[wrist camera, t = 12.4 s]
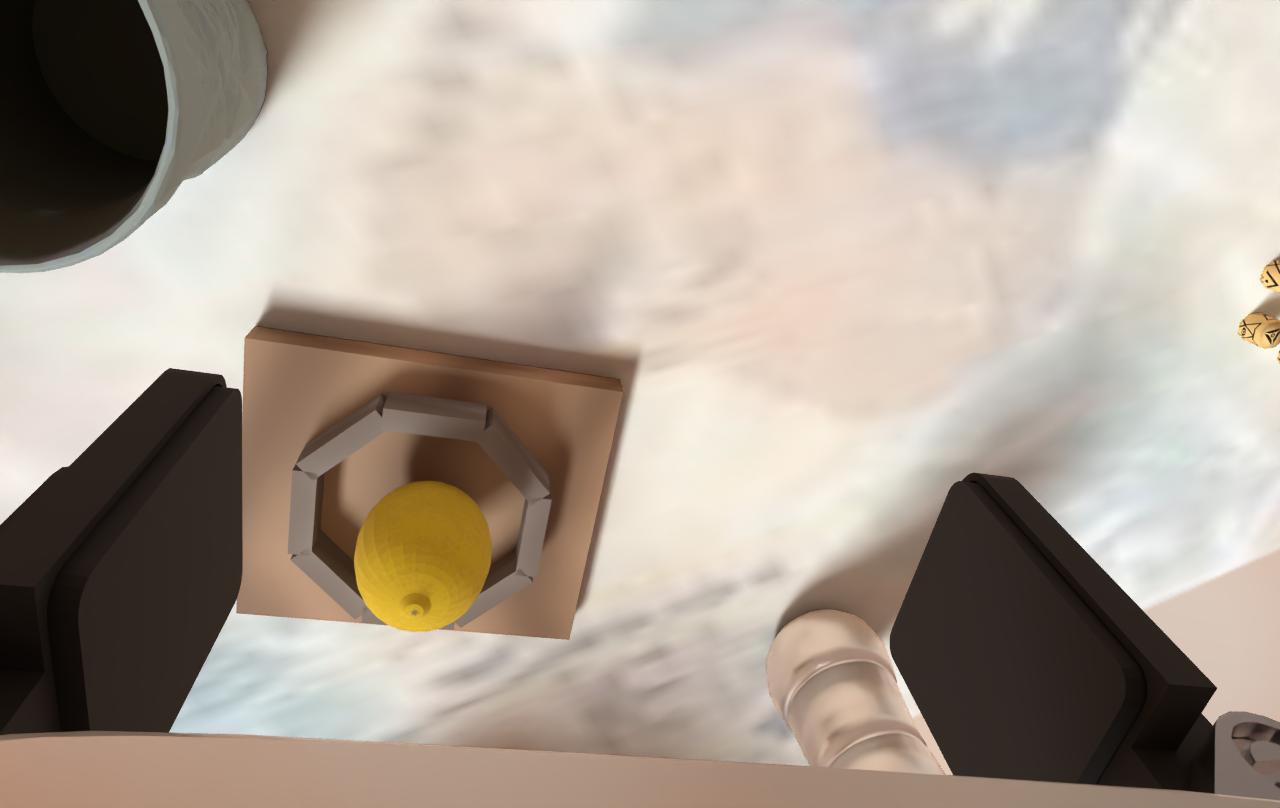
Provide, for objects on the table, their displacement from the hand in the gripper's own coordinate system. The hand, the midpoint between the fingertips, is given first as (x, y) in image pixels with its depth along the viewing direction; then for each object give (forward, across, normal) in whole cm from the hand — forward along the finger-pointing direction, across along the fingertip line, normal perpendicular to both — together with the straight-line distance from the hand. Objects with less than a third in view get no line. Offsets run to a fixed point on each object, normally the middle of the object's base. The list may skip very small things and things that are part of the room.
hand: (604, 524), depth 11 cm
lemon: (+24, +4, +16) cm, 29 cm away
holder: (+26, +4, +16) cm, 31 cm away
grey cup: (+26, +16, -1) cm, 31 cm away
